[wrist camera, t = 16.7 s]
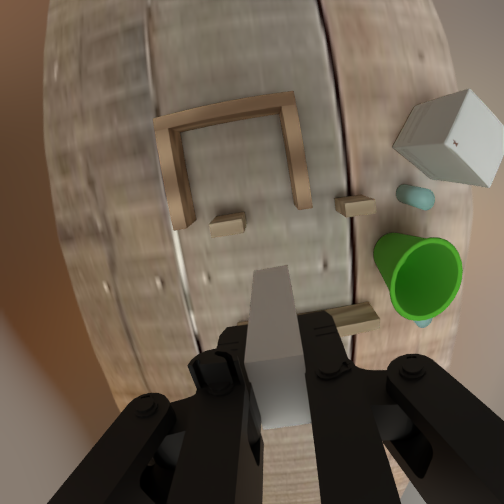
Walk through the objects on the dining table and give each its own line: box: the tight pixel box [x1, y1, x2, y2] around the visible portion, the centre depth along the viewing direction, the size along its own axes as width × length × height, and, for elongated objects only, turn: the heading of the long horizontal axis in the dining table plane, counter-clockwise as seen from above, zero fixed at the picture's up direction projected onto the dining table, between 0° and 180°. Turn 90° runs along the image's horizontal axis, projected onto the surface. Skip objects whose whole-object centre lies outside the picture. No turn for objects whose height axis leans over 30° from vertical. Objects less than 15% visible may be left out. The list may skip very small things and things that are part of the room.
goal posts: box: [396, 184, 435, 328], centre depth 35 cm, size 17×2×6 cm, turn 10°
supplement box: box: [393, 89, 504, 188], centre depth 28 cm, size 7×7×13 cm
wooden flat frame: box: [153, 91, 380, 337], centre depth 35 cm, size 28×22×5 cm
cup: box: [374, 233, 463, 321], centre depth 33 cm, size 9×9×11 cm
